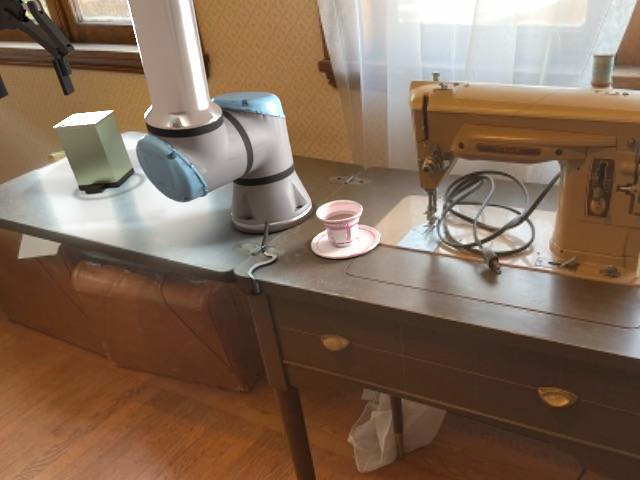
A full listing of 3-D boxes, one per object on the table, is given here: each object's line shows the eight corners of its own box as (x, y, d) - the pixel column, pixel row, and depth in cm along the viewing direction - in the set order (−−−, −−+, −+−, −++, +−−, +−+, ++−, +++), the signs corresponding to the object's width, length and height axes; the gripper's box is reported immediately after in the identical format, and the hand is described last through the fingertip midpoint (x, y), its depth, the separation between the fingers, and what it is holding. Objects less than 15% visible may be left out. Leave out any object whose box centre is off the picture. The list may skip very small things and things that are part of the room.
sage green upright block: (97, 175, 144) (73, 113, 136) (135, 171, 143) (113, 109, 135) (73, 195, 134) (45, 130, 126) (114, 191, 133) (89, 126, 125)
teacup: (304, 237, 107) (297, 205, 104) (368, 221, 110) (363, 189, 107) (321, 267, 98) (314, 232, 94) (390, 248, 100) (386, 214, 97)
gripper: (66, -36, 108) (106, 86, 120) (-66, -27, 109) (-14, 92, 121) (44, -31, 101) (88, 97, 113) (-96, -21, 103) (-37, 104, 115)
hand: (36, 95), depth 117 cm, fingers open, 13 cm apart
